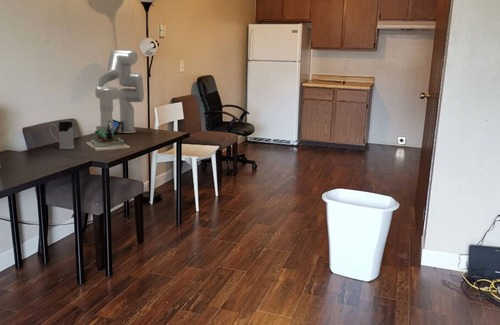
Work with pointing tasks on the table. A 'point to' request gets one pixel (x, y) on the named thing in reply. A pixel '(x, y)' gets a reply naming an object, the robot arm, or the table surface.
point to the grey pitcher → (65, 135)
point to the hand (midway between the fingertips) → (107, 137)
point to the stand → (107, 145)
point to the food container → (104, 134)
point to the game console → (116, 124)
